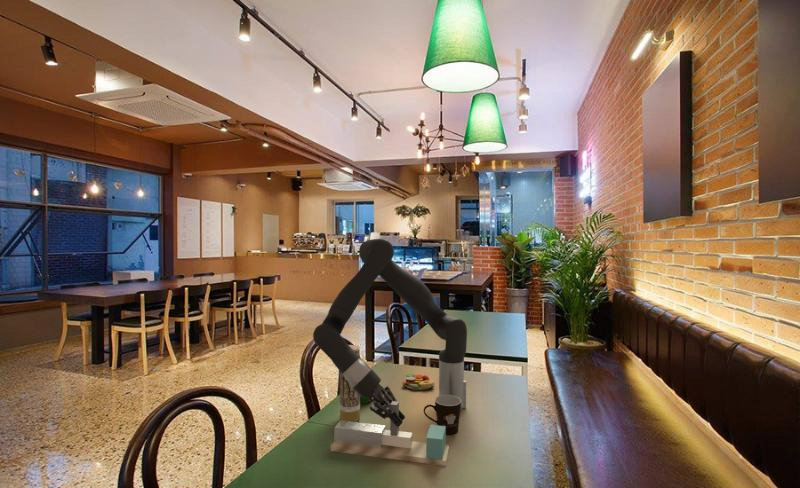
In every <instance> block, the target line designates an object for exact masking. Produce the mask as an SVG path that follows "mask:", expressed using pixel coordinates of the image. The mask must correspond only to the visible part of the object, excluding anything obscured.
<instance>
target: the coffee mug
mask: <svg viewBox="0 0 800 488" xmlns="http://www.w3.org/2000/svg"><path fill="white" fill-rule="evenodd" d="M427 408H433V409H434V411H435V415H436V420H435V419H434V418H432V417H431V416H430V415H428V414H427V413H426V410H427ZM460 409H461V399H460V398H459V397H456V396H453V395H440V396H439V395H437V396H435V398H434V405H433V404H427V405H425V406H424V408H423V414H424V415H425V417H426V418H427V419H429V420H430V421H432V422H434V423H435V424H436V425H438V426H446V436H447V437H448V436H449V437H450V436H451V437H452V436H454V435H457V434H458V432H459V426H460V425H459V424H460V417H461V410H462V409H461V410H460Z"/></svg>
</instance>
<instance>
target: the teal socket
mask: <svg viewBox="0 0 800 488" xmlns="http://www.w3.org/2000/svg"><path fill="white" fill-rule="evenodd" d="M446 436H447V435H446V426H438V425H437V424H429V429H428V431H427V434H426V439H425V441H426V442H425V443H426V458H431V459H439V460H443V455H444V451H445V446H446V445H447V440H446V439H447V438H446Z"/></svg>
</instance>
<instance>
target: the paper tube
mask: <svg viewBox="0 0 800 488" xmlns="http://www.w3.org/2000/svg"><path fill="white" fill-rule="evenodd" d="M348 345H349V346H350V347H351V348H352V349H353V350H354V351H355V352H356V353H357V354H358V355H359V357H360V352H361V351H360V350H361V349H360V346H358V345H356V344H348ZM360 358H361V357H360ZM339 409H340V410H339V411H340V412H339V415H340V416H339V421H340V420H341V421H350V422H359V420H360V419H361V403H360V395H359V393H358V392H357V391H356V390H355V389H354V388H353V387H352V386H351V384H350V383H349V382H348V381H347V380H346V378H345V376H344V375H343V374H342V373H341V372H340V371H339Z"/></svg>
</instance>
